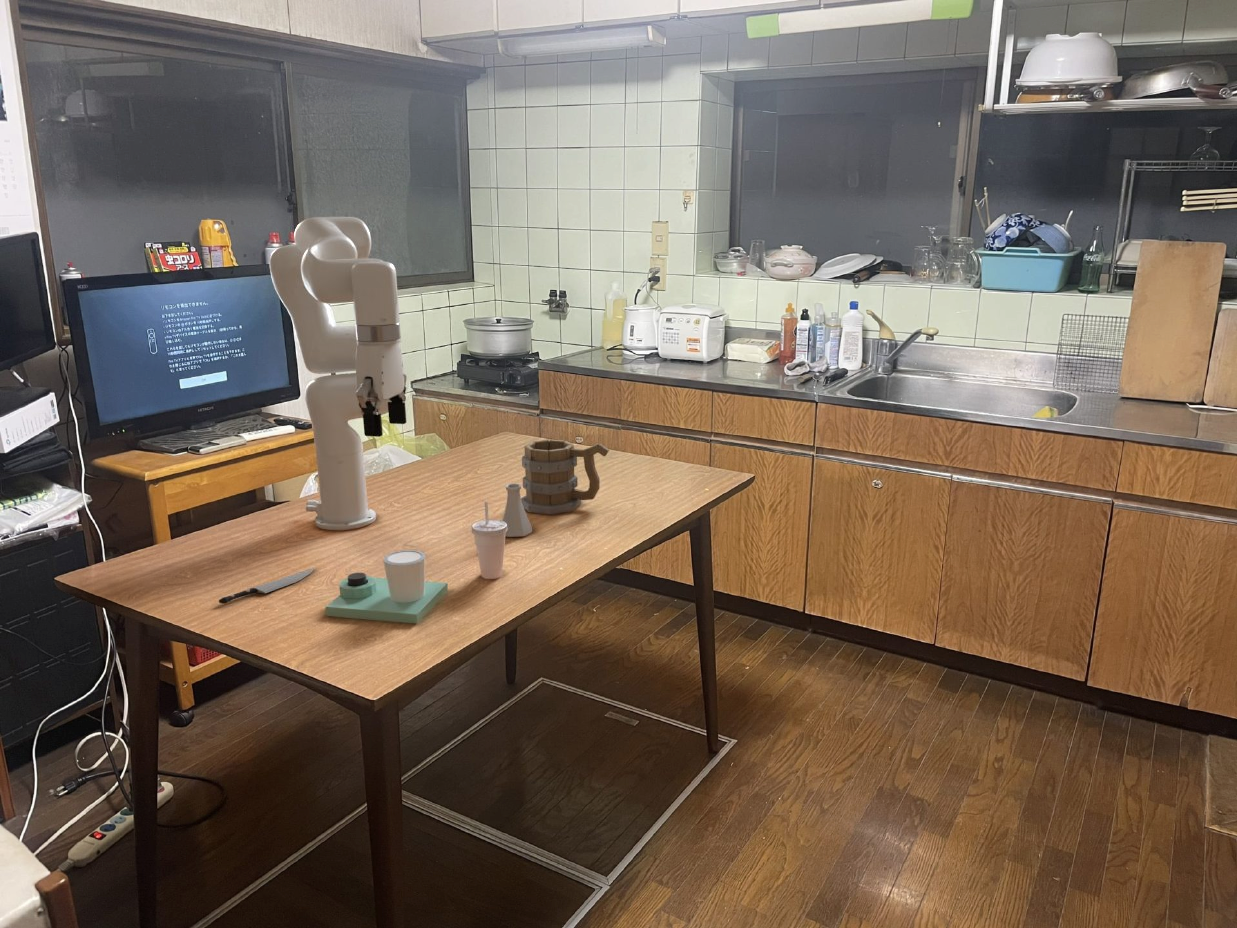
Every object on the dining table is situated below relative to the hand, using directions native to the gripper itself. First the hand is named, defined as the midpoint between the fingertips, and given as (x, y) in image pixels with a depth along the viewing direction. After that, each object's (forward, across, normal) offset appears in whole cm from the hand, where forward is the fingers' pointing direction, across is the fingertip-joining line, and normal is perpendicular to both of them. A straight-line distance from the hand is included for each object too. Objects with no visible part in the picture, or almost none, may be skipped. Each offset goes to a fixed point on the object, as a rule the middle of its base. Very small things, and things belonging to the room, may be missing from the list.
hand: (386, 429), depth 164 cm
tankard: (+26, -40, +22) cm, 53 cm away
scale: (+26, +16, +6) cm, 31 cm away
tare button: (+23, +16, +1) cm, 28 cm away
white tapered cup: (+25, +16, +9) cm, 31 cm away
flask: (+26, -22, +16) cm, 38 cm away
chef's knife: (+26, +14, -17) cm, 34 cm away
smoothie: (+26, +1, +19) cm, 33 cm away
